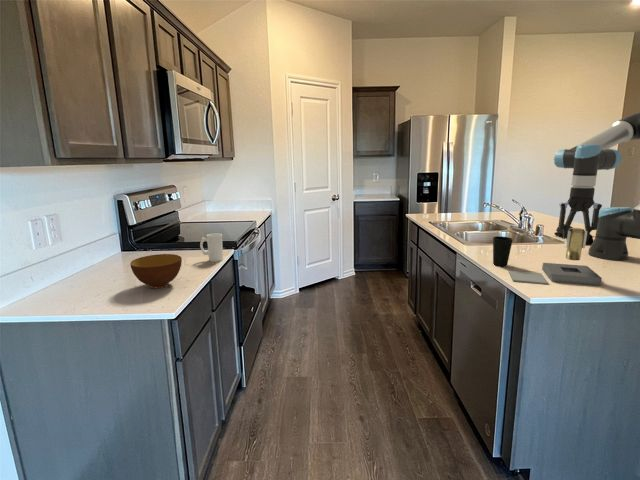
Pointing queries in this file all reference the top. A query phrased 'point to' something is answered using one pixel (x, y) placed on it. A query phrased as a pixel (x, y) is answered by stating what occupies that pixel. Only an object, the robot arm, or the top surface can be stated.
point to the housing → (571, 274)
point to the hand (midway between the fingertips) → (574, 246)
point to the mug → (213, 247)
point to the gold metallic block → (575, 244)
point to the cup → (501, 250)
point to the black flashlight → (560, 231)
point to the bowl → (156, 269)
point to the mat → (528, 277)
